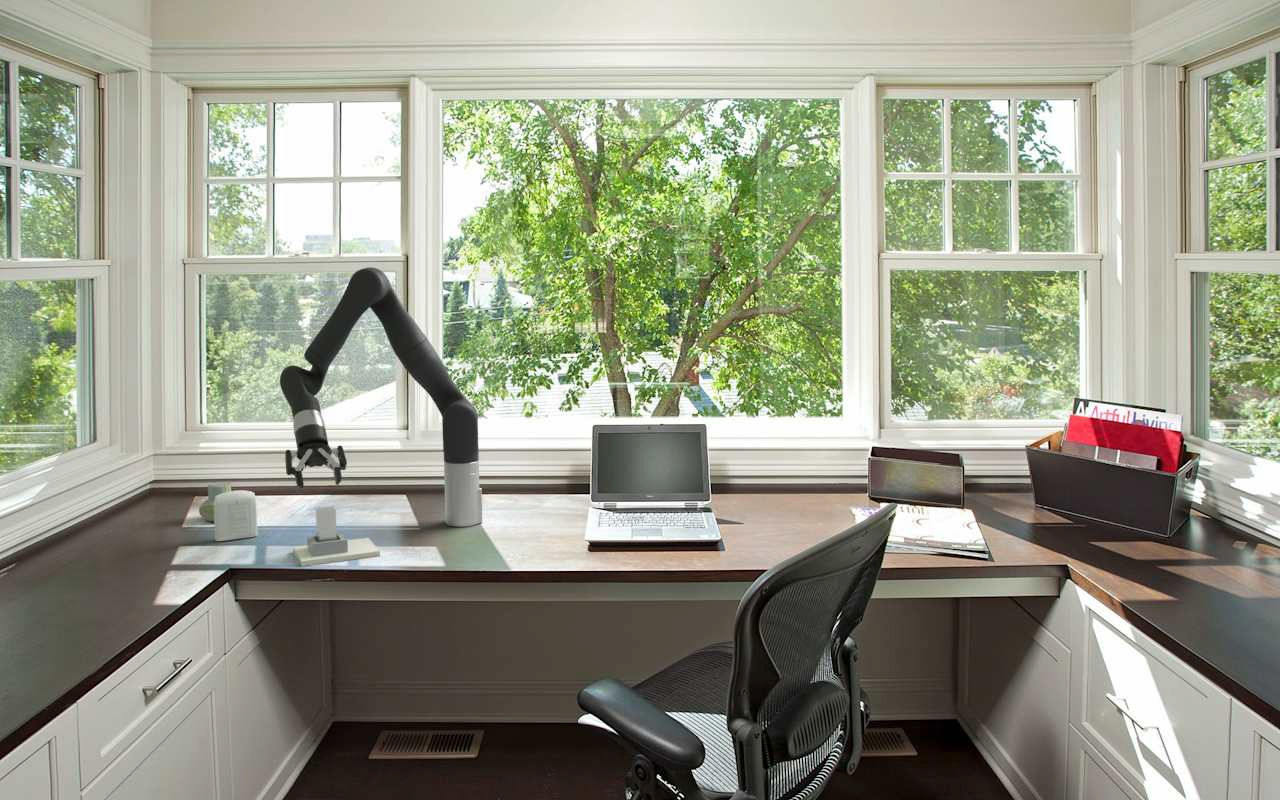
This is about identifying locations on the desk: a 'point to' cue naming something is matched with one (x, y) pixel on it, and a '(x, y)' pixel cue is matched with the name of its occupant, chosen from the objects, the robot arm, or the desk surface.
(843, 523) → the desk surface
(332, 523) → the grainy grey brick
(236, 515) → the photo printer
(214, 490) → the air freshener
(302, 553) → the docking board
